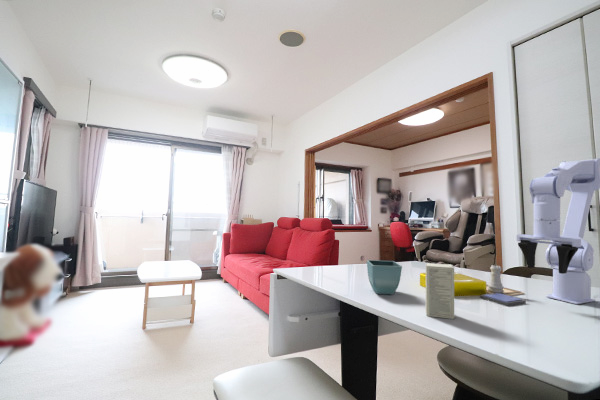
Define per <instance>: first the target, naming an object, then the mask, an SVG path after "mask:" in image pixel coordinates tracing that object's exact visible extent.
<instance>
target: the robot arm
mask: <svg viewBox="0 0 600 400" xmlns="http://www.w3.org/2000/svg"><path fill="white" fill-rule="evenodd" d="M558 165H559V166H558V167H557V166H556V167H552V168H551V171H549V172H546V173H545V174H544V175H543V176H540V177H539V176H537V177H535V178H534V179H531V180H530V182H529V183H530V184H529V193H530V199H531V200H530V201H531V203H532V204H533V234H522V233H517V234H516V241H517V245H518V247H519V249H520V251H521V252H522V254H523V257H524V260H525V262H526V263H525V264H526V266H527V268H529V269H532V268H533V269H534V268H535V267H536V266H535V265H536V252H537V247H538V244H548V247H547V248H546V250H545V255H544V256H545V261H546V263H547V264H548V265H549V266H550V268H551V269H552V294H546V295H545V297H546V298H549V299H550V298H551V299H554V300H559V301H563V302H565V303H571V304H575V305H581V304H585V303H593V302H595V301H596V300H595V299H593V298H592V293H591V292H592V282H591V281H592V280H591V277H590V275H589V274H588V271H590V270H591V269H592V268H593V266H594V253H595V252H594V248H593V246H592V245H591V243H590V242H588V241H586V240H585V239H584V236H585V231H586V226H587V223H588V222H587V221H588V218H589V213H590V209H591V203H592V200H593V196H594V193H595V191H597V190H600V158H599V157H598V158H592V159H591V158H590V159H580V160H572V161H571V160H570V161H566V160H565V161H562V162H560V163H559V164H558ZM565 191H569V192H570V193H571V197H570V200H569V204H568V209H567V213H566V219H565V222H564V226H563V231H562V233H561V198H562V197H564V195H565Z"/></svg>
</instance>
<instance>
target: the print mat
mask: <svg viewBox="0 0 600 400" xmlns="http://www.w3.org/2000/svg"><path fill="white" fill-rule="evenodd" d="M488 288H489V287H488V284H486V294H493V293H494V292H490V291H489V290H488ZM503 290H504V292H503V293H500V294H504V295H508V296H512V297H514V296H519V295H525V292H523V291H522V290H521V291H519V290H515V289H511V288H507V287H504V289H503Z"/></svg>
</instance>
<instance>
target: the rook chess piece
mask: <svg viewBox="0 0 600 400" xmlns="http://www.w3.org/2000/svg"><path fill="white" fill-rule="evenodd" d="M489 269H490V270H491V271H490V275H491V276H490V282H489V283H487V285H488V287H489V288H488V290H489V291H490V292H494V293H503V292H504V290H503V289H504V288H505V287H504V286H503V283H502V280H501V275H502V273H501V272H502V271H503V268H502V266H501V265H497V264H496V265H495V264H491V266H490V267H489Z"/></svg>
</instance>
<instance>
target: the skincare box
mask: <svg viewBox="0 0 600 400" xmlns="http://www.w3.org/2000/svg"><path fill="white" fill-rule="evenodd" d="M454 272H455V267H454V265H453V264H451V263H450V264H449V263H447V264H445V263H434V262H433V263H432V262H431V263H430V262H425V273H426V288H425V314H426V316H427V317H434V318H443V319H451V320H454V319H455V297H454Z"/></svg>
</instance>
